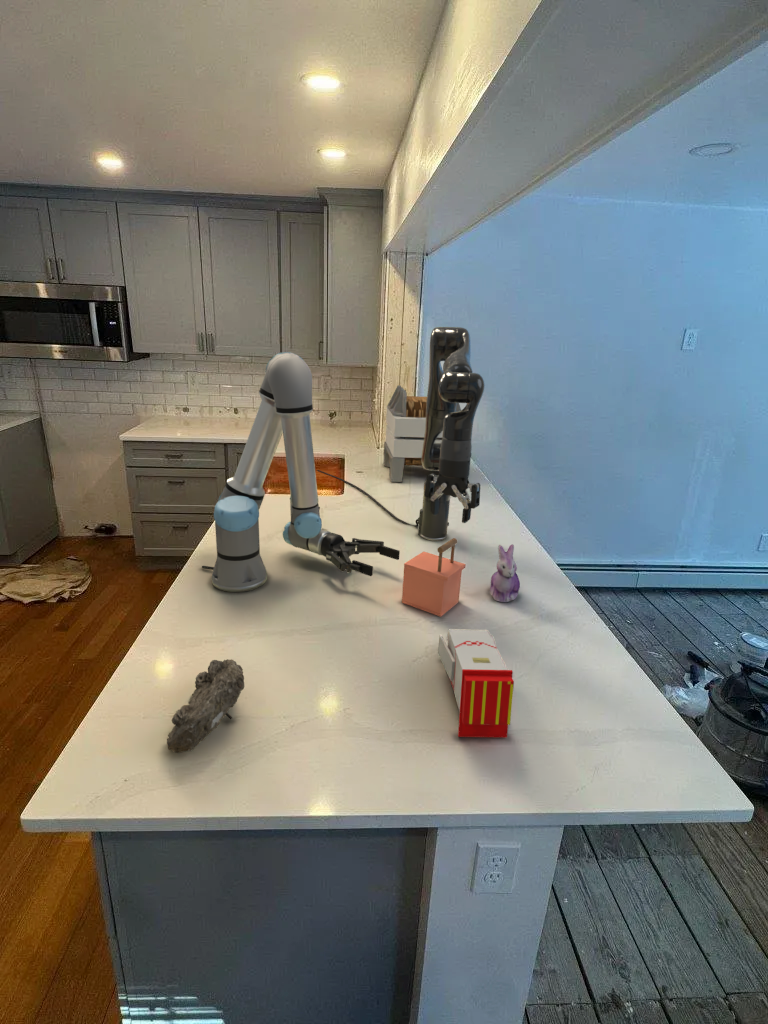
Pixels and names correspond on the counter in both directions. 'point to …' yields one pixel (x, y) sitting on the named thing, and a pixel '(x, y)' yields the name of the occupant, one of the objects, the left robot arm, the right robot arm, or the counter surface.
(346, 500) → the counter surface
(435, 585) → the chest
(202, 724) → the fossil
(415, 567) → the lid
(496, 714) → the toy
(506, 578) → the figurine
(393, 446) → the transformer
